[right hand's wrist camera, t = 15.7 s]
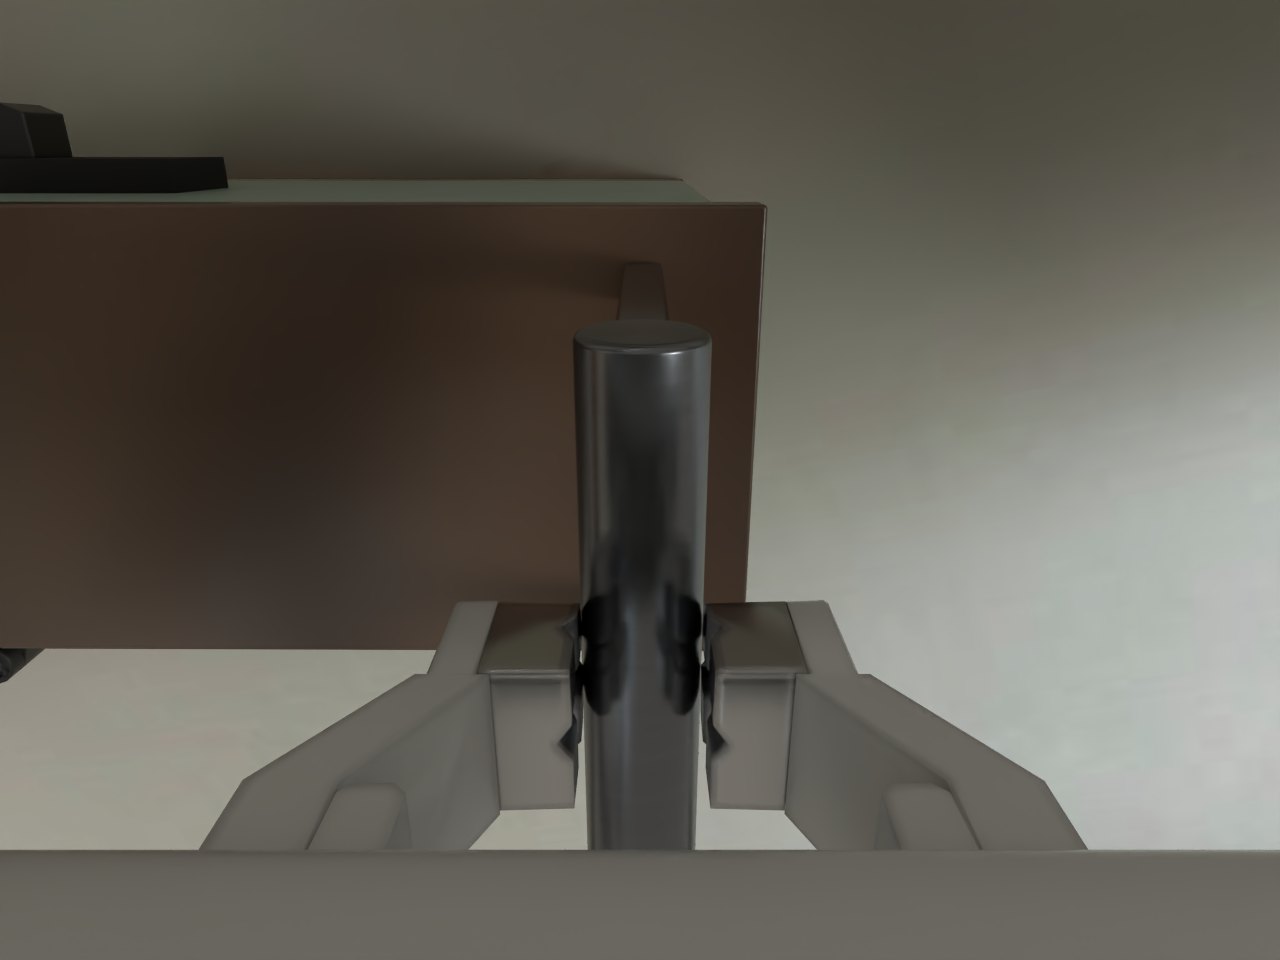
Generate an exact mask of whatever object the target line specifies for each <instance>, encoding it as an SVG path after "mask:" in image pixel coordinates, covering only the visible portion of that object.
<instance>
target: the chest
mask: <svg viewBox="0 0 1280 960" xmlns="http://www.w3.org/2000/svg"><path fill="white" fill-rule="evenodd" d="M227 181H228V187H229V188H222V189H213V190H203V191H193V192H184V193H0V201H53V202H710V201H709V200H707V199H706V198H705V197H703V196H702V195H701V194H699V193H698V192H696V191H695V190H694V189H692V188H691V187H690V186H688V185H687V184H685V183H684V182H683V180H682V179H227Z"/></svg>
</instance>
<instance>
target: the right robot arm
mask: <svg viewBox="0 0 1280 960" xmlns="http://www.w3.org/2000/svg"><path fill="white" fill-rule="evenodd" d="M581 641H582V620H581V607H580V603H566V602H513V601H501V602H498V601H461V602H458V603H457V604H456V605H455V606H454V609H453V611H452V613H451V616H450V618H449V621H448V623H447V626H446V628H445V631H444V633H443V635H442V638H441V640H440V643H439V645H438V648H437V650H436V653H435V655H434V657H433V660H432V662H431V665H430V667H429V670H428V672H427V674H414V675H413V676H411V677H410V678H408V679H406V680H405V681H403V682H401V683H400V684H398V685H396V686H395V687H393V688H392V689H390V690H388V691H387V692H385V693H383V694H382V695H380V696H379V697H377V698H375V699H374V700H372V701H370V702H369V703H367V704H366V705H364V706H362V707H361V708H359V709H357V710H356V711H354V712H353V713H351V714H349V715H348V716H346V717H344V718H343V719H341V720H340V721H338V722H336V723H335V724H333V725H331V726H330V727H328V728H326V729H325V730H323V731H322V732H320V733H318V734H317V735H315V736H313V737H312V738H310V739H309V740H307V741H305V742H304V743H302V744H300V745H299V746H297V747H296V748H294V749H292V750H291V751H289V752H287V753H286V754H284V755H283V756H281V757H279V758H278V759H276V760H274V761H273V762H271V763H270V764H268V765H266V766H265V767H263V768H261V769H260V770H258V771H257V772H255V773H253V774H252V775H250V776H248V777H247V778H245V779H243V780H242V782H241V784H240V785H239V787H238V788H237V790H236V791H235V793H234V795H233V796H232V798H231V799H230V801H229V802H228V804H227V806H226V807H225V809H224V810H223V812H222V814H221V815H220V817H219V818H218V820H217V821H216V823H215V825H214V826H213V828H212V829H211V831H210V832H209V834H208V836H207V837H206V839H205V840H204V842H203V844H202V845H201V847H200V848H199V850H0V960H1280V850H1088V849H1087V847H1086V845H1085V844H1084V842H1083V841H1082V839H1081V838H1080V836H1079V834H1078V833H1077V831H1076V830H1075V828H1074V827H1073V825H1072V823H1071V822H1070V820H1069V819H1068V817H1067V816H1066V814H1065V812H1064V811H1063V809H1062V808H1061V806H1060V805H1059V803H1058V801H1057V800H1056V798H1055V797H1054V795H1053V794H1052V792H1051V790H1050V789H1049V787H1048V786H1047V784H1046V783H1045V781H1044V780H1042V779H1040V778H1039V777H1037V776H1035V775H1034V774H1032V773H1030V772H1029V771H1027V770H1026V769H1024V768H1022V767H1021V766H1019V765H1017V764H1016V763H1014V762H1013V761H1011V760H1009V759H1008V758H1006V757H1004V756H1003V755H1001V754H999V753H998V752H996V751H995V750H993V749H991V748H990V747H988V746H986V745H985V744H983V743H982V742H980V741H978V740H977V739H975V738H973V737H972V736H970V735H968V734H967V733H965V732H964V731H962V730H960V729H959V728H957V727H955V726H954V725H952V724H951V723H949V722H947V721H946V720H944V719H942V718H941V717H939V716H937V715H936V714H934V713H933V712H931V711H929V710H928V709H926V708H924V707H923V706H921V705H920V704H918V703H916V702H915V701H913V700H911V699H910V698H908V697H906V696H905V695H903V694H902V693H900V692H898V691H897V690H895V689H893V688H892V687H890V686H889V685H887V684H885V683H884V682H882V681H880V680H879V679H877V678H875V677H874V676H872V675H871V674H858V672H857V670H856V668H855V665H854V663H853V661H852V658H851V656H850V654H849V651H848V649H847V647H846V644H845V642H844V639H843V637H842V635H841V632H840V630H839V628H838V625H837V623H836V621H835V618H834V616H833V613H832V611H831V609H830V606H829V604H828V603H827V602H825V601H824V600H818V601H795V602H785V601H782V602H741V603H705V604H704V606H703V618H702V641H703V649H704V658H705V661H704V662H703V663H702V664H701V724H702V736H703V742H704V743H706V774H707V782H708V790H709V799H710V807H711V808H715V809H752V810H785V815H786V816H787V817H788V818H789V819H790V820H791V821H792V822H793V824H794V825H795V826H796V827H797V828H798V829H799V830H800V831H801V832H802V833H803V835H804V836H805V837H806V838H807V839H808V840H809V841H810V842H811V843H812V845H813V846H814V847H815V848H816V849H817V850H468V849H469V848H470V847H471V846H472V845H473V844H474V843H475V841H476V840H477V839H478V838H479V837H480V836H481V835H482V834H483V833H484V832H485V830H486V829H487V828H488V827H489V826H490V825H491V824H492V823H493V822H494V820H495V819H496V818H497V817H498V816H499V815H500V810H532V809H567V808H574V804H575V795H576V786H577V777H578V744H579V743H580V742H581V736H582V724H583V692H584V684H583V665H582V663H581V662H580V661H579V660H580V651H581Z"/></svg>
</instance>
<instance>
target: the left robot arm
mask: <svg viewBox="0 0 1280 960" xmlns="http://www.w3.org/2000/svg"><path fill="white" fill-rule="evenodd" d="M222 188H229V187H228V181H227V176H226V170H225V164H224V158H223V157H73V156H72V152H71V148H70V144H69V140H68V135H67V131H66V127H65V123H64V118H63V115H62V114H60V113H57V112H55V111H52V110H50V109H47V108H45V107H42V106H40V105H26V104H12V103H0V193H184V192H193V191H203V190H213V189H222ZM44 649H45V648H0V683H2V682H5V681H7V680H9V679H10V678H11V677H12V676H13V675H14V674H16V673H17V672H18V671H19V670H21V669H22V668H23V667H24V666H25V665H26V664H28V663H29V662H30V661H31V660H32V659H33V658H35V657H36V656H37V655H38V654H39V653H41V652H42V651H43V650H44Z"/></svg>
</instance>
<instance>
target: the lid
mask: <svg viewBox="0 0 1280 960" xmlns="http://www.w3.org/2000/svg"><path fill="white" fill-rule="evenodd" d="M766 222H767V206H765V205H763V204H761V203H759V202H53V201H0V648H63V649H341V650H437V648H438V645H439V643H440V640H441V638H442V635H443V633H444V631H445V628H446V626H447V623H448V621H449V618H450V616H451V613H452V611H453V609H454V606H455V605H456V604H457V603H458V602H461V601H498V602H501V601H513V602H566V603H580V607H581V620H582V641H581V650H582V665H583V684H584V692H583V707H584V740H585V774H586V807H587V841H588V850H695V836H696V806H697V776H698V746H699V716H700V686H701V656H702V651H704V649H703V641H702V618H703V606H704V604H705V603H741V602H746V585H747V567H748V549H749V531H750V513H751V495H752V476H753V458H754V440H755V422H756V404H757V386H758V367H759V349H760V331H761V313H762V295H763V276H764V258H765V240H766Z"/></svg>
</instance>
